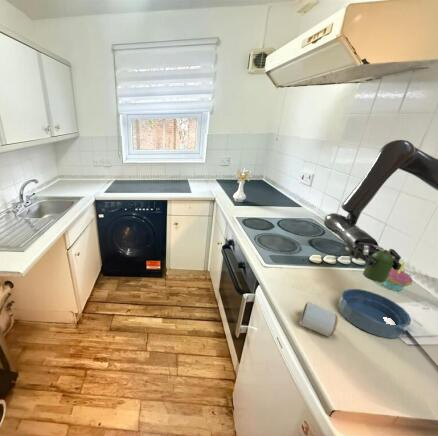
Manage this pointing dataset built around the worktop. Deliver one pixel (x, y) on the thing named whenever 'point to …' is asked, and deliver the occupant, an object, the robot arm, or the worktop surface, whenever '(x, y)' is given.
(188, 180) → the worktop surface
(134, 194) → the worktop surface
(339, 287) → the worktop surface
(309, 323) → the ceramic mug
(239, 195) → the flower vase
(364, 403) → the worktop surface
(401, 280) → the cupcake
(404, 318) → the bowl
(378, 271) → the green rounded cylinder
